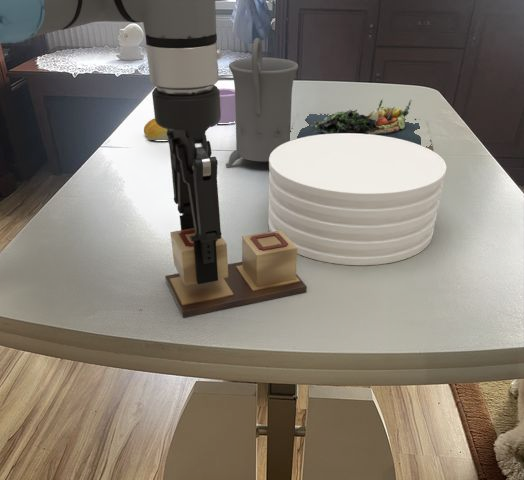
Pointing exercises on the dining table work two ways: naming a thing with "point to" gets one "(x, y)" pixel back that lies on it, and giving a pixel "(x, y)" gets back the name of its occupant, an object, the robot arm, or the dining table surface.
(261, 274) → the letter O
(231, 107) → the purple block with holes
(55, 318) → the dining table surface
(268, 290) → the word board
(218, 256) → the letter G
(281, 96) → the mug
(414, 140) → the plated dish
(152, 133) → the bread roll
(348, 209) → the plate stack
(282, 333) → the dining table surface
